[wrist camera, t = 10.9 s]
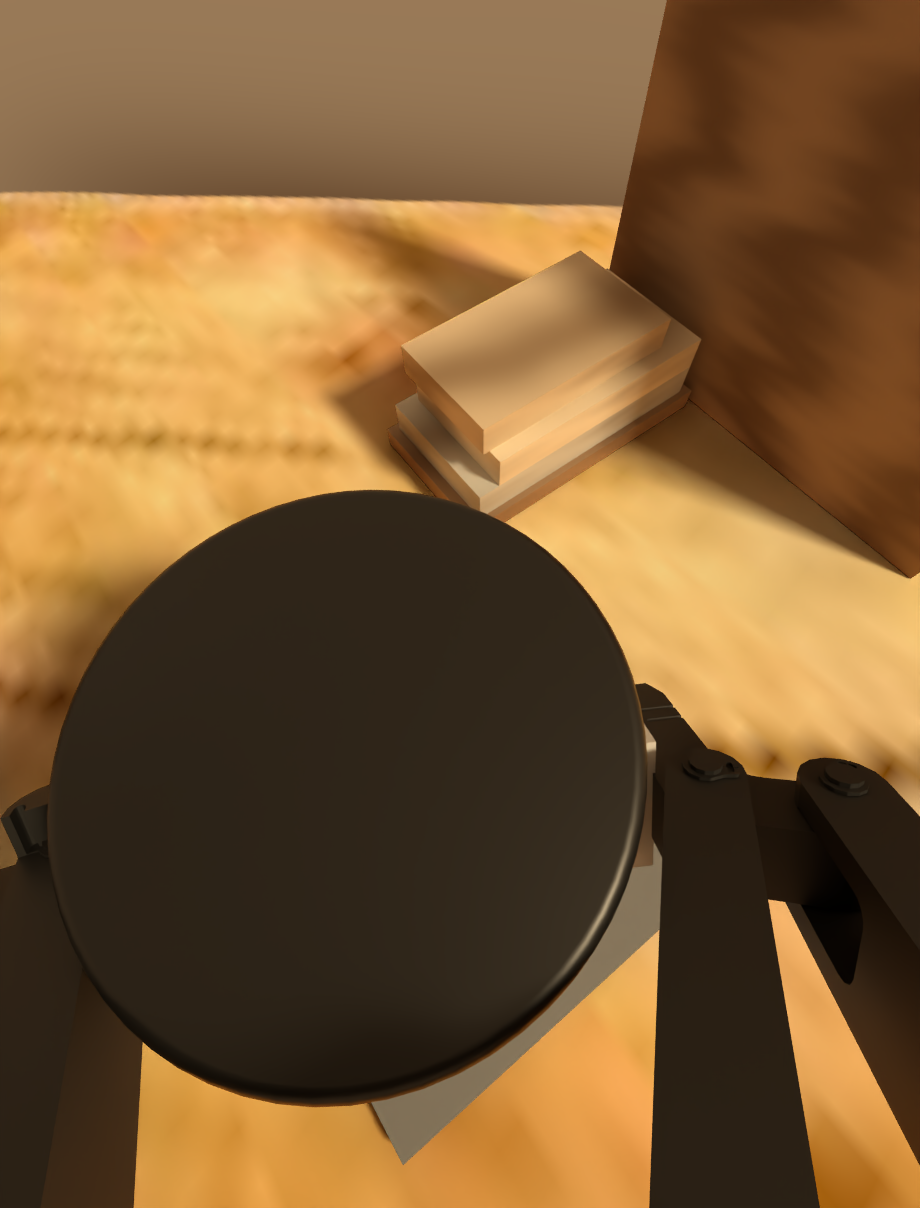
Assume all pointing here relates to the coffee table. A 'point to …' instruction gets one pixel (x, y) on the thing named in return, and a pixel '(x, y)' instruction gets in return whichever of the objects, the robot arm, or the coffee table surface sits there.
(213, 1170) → the coffee table surface
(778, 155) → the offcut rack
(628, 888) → the rubber mat
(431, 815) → the jar
